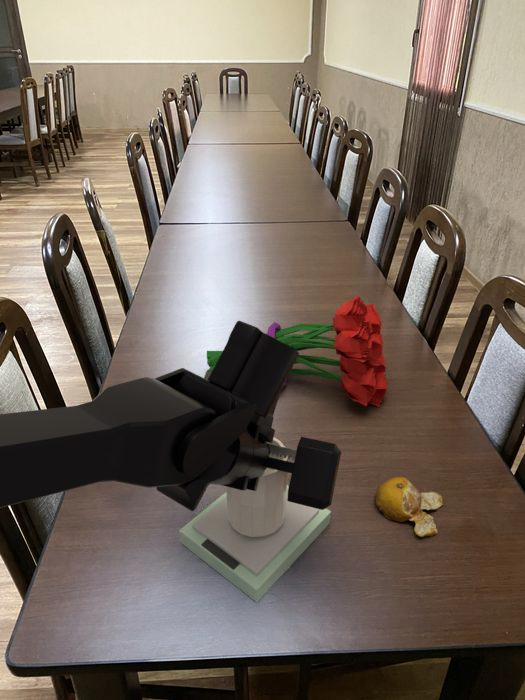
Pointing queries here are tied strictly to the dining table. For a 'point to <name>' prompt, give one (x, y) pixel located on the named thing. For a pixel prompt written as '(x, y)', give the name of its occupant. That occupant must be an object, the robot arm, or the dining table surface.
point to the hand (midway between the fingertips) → (260, 461)
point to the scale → (252, 544)
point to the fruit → (408, 504)
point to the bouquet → (340, 350)
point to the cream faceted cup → (259, 503)
